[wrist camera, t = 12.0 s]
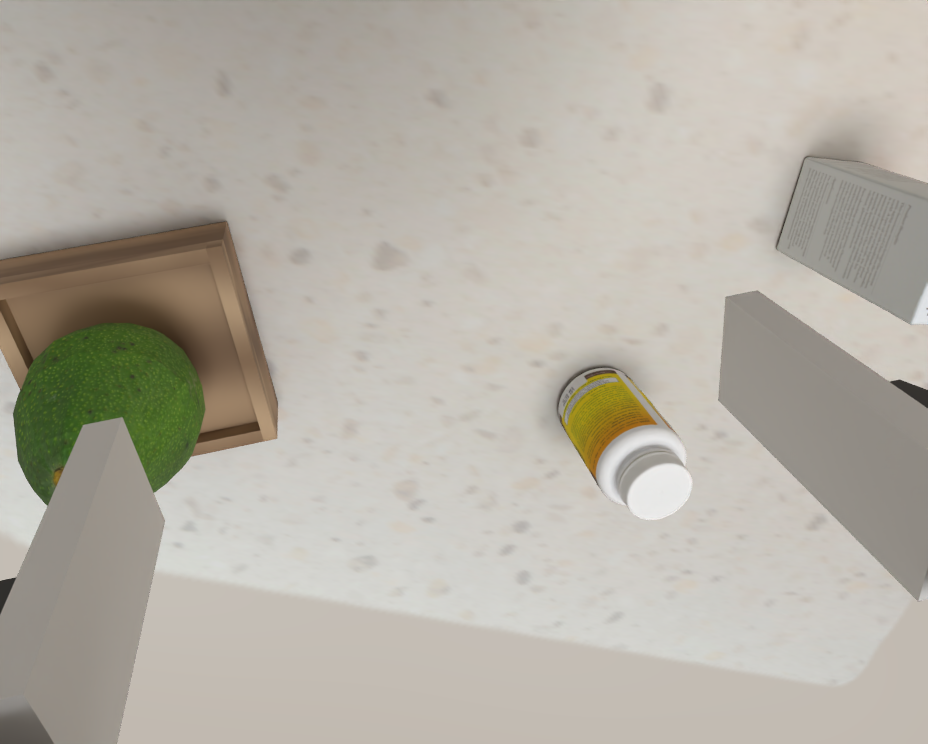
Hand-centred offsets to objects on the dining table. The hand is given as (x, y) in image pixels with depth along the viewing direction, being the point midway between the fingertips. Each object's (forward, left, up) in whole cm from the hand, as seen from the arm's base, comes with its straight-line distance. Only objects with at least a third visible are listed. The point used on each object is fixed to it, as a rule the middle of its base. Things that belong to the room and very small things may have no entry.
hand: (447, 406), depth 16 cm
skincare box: (+8, +28, -27) cm, 40 cm away
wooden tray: (+9, -13, -27) cm, 31 cm away
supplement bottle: (+19, +13, -27) cm, 35 cm away
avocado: (+8, -14, -24) cm, 29 cm away
